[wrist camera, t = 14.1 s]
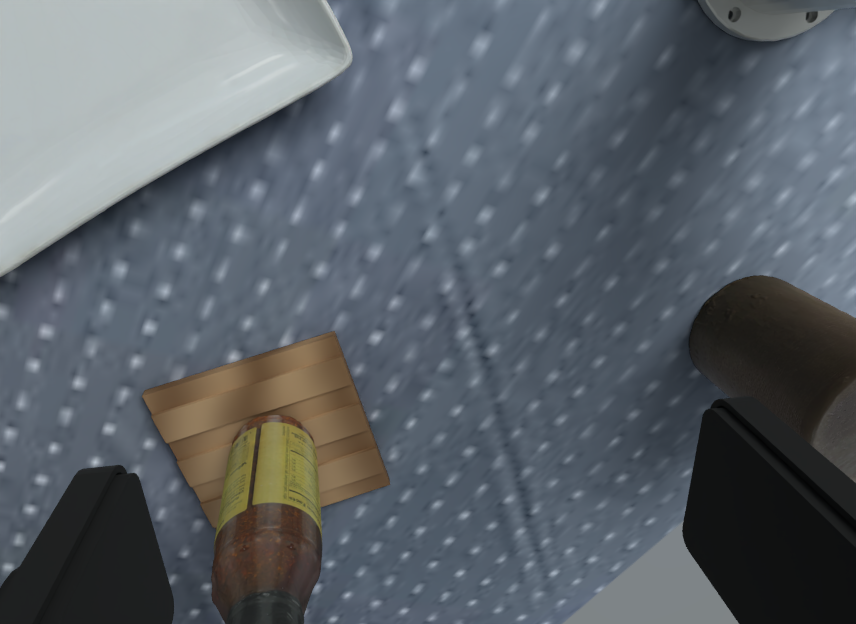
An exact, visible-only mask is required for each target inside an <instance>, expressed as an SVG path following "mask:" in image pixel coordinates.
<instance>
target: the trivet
mask: <svg viewBox="0 0 856 624" xmlns="http://www.w3.org/2000/svg"><path fill="white" fill-rule="evenodd" d="M142 397H143V399H144V401H145V402H146V404H147V406H148V408H149V410H150V411H151V413H152V416H151V417H152V419H153V421H154V423H155V425H156V426H157V428H158V430H159V432H160V434H161V435H162V437H163V439H164V441H165V443H168V444H169V446H170V447H171V449H172V451H173V453H174V455H175V456H176V458H177V464H178V466H179V468H180V470H181V471H182V473H183V475H184V477H185V478H186V480H187V482H188V484H189V486H190V487H193V489H194V491H195V493H196V494H197V496H198V498H199V500H200V502H201V504H200V505H201V507H202V509H203V511H204V513H205V514H206V516H207V518H208V520H209V522H210V523H211V525H212V527H213V528H214V527H215V529H216V530H217V524H218V519H219V513H220V506H221V500H222V494H223V487H224V481H225V474H226V468H227V462H228V456H229V453H230V450H231V447H232V443H233V440H234V438H235V436H236V435H237V433H238V432H239V431H240V430H241V429H242V428H243V426H244V425H245V424H247V423H248V422H249V421H251V420H252V419H255V418H257V417H260V416H268V415H284V416H290V417H292V418H295V419H296V420H297V421H299V422H300V423H301V424H302V425H303V426H304V427H305V428H306V429H307V430H308V431H309V433H310V434H311V435H312V437H313V439H314V445H315V448H316V451H317V462H318V478H319V492H320V507H323V506H326V505H329V504H332V503H335V502H339V501H342V500H345V499H348V498H351V497H354V496H357V495H360V494H363V493H366V492H369V491H372V490H375V489H378V488H381V487H384V486H387V485H390V480H389V476H388V474H387V471H386V468H385V466H384V463H383V460H382V458H381V455H380V452H379V449H378V447H377V444H376V441H375V439H374V436H373V433H372V431H371V428H370V425H369V422H368V420H367V417H366V414H365V412H364V409H363V406H362V404H361V401H360V398H359V396H358V393H357V390H356V387H355V385H354V382H353V379H352V377H351V374H350V371H349V369H348V366H347V363H346V360H345V358H344V355H343V352H342V350H341V347H340V344H339V342H338V339H337V336H336V334H335V331H333V332H330V333H326V334H323V335H320V336H317V337H314V338H310V339H307V340H304V341H301V342H298V343H295V344H291V345H288V346H285V347H282V348H279V349H275V350H272V351H269V352H266V353H263V354H259V355H256V356H253V357H250V358H247V359H243V360H240V361H237V362H234V363H231V364H228V365H224V366H221V367H218V368H215V369H212V370H208V371H205V372H202V373H199V374H196V375H192V376H189V377H186V378H183V379H180V380H177V381H173V382H170V383H167V384H164V385H161V386H157V387H154V388H151V389H148V390H145V391H144V393H143V395H142Z"/></svg>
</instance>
